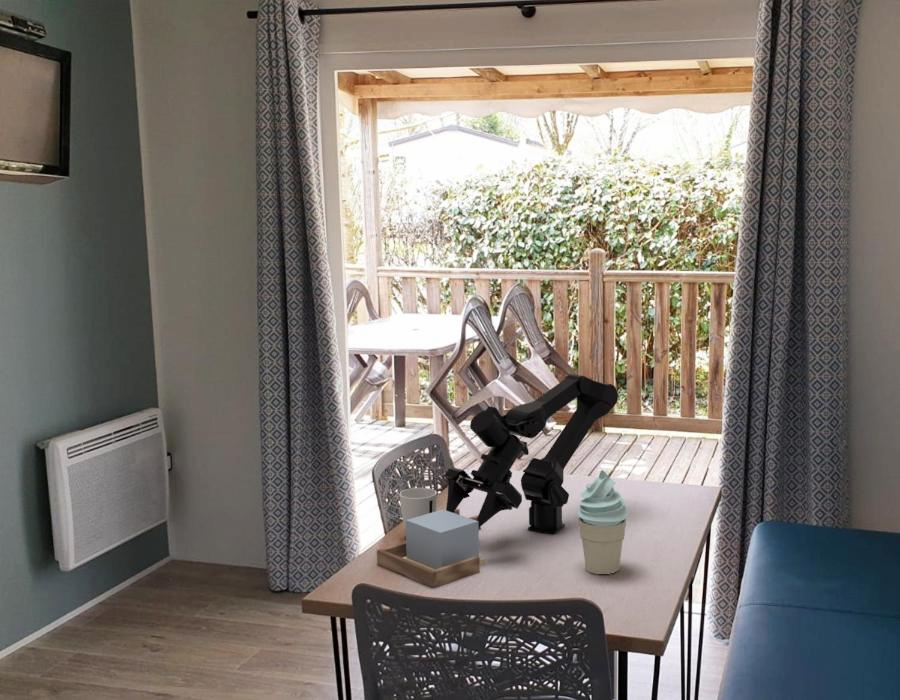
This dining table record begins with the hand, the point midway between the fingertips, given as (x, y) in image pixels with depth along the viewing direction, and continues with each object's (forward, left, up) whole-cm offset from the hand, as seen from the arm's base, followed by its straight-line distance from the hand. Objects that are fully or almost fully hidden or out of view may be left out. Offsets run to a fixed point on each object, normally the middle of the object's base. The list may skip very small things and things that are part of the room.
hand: (461, 521), depth 206 cm
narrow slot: (+9, -16, -8) cm, 20 cm away
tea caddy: (+2, +5, -8) cm, 9 cm away
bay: (+3, +9, -8) cm, 12 cm away
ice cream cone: (-29, -6, -8) cm, 30 cm away
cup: (+14, -7, -8) cm, 18 cm away
